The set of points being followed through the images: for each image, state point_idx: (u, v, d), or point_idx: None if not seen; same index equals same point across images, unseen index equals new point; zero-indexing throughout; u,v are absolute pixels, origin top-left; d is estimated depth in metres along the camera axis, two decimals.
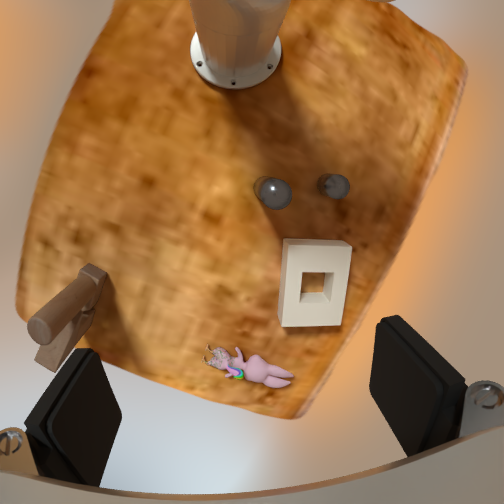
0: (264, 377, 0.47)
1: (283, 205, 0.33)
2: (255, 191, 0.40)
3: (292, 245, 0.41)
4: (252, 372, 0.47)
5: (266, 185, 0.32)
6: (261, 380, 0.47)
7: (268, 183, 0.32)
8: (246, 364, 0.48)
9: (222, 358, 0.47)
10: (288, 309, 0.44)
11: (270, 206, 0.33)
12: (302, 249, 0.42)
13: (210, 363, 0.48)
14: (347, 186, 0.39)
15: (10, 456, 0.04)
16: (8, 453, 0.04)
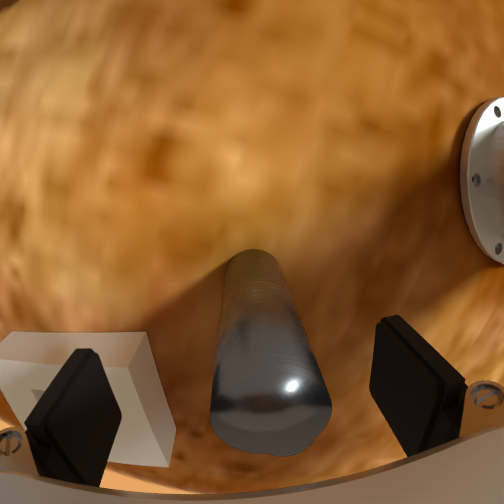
0: None
1: (232, 439, 0.08)
2: (245, 268, 0.15)
3: (129, 374, 0.15)
4: None
5: (305, 382, 0.07)
6: None
7: (314, 386, 0.07)
8: None
9: None
10: (13, 369, 0.15)
11: (218, 406, 0.07)
12: (128, 394, 0.15)
13: None
14: (290, 452, 0.16)
15: (10, 456, 0.04)
16: (8, 453, 0.04)
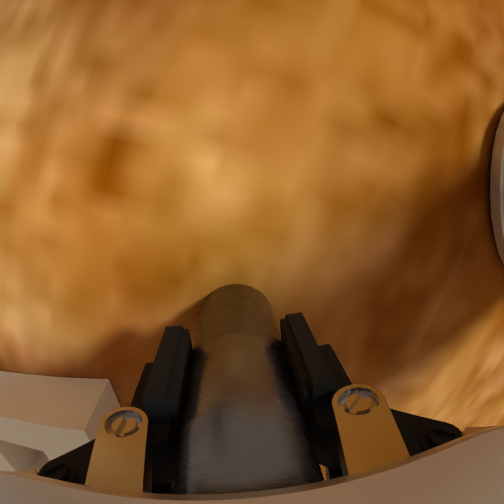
0: None
1: None
2: (223, 319, 0.10)
3: (88, 437, 0.11)
4: None
5: None
6: None
7: None
8: None
9: None
10: None
11: None
12: None
13: None
14: None
15: (119, 438, 0.05)
16: (119, 434, 0.06)
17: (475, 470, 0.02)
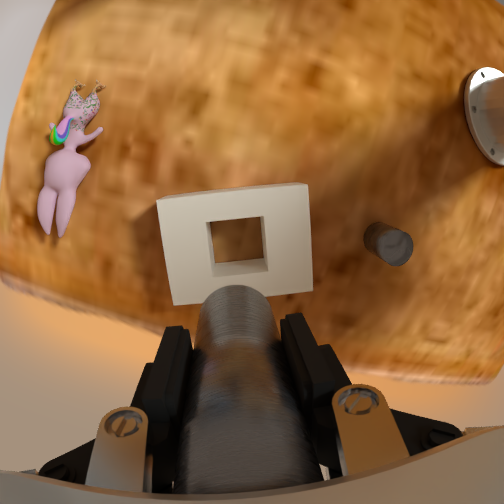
0: (54, 184, 0.23)
1: None
2: (223, 319, 0.10)
3: (306, 191, 0.25)
4: (61, 161, 0.23)
5: None
6: (48, 180, 0.23)
7: None
8: (73, 151, 0.24)
9: (84, 108, 0.23)
10: (191, 205, 0.24)
11: None
12: (302, 208, 0.25)
13: (73, 94, 0.23)
14: (399, 262, 0.26)
15: (119, 438, 0.05)
16: (119, 434, 0.06)
17: (475, 470, 0.02)
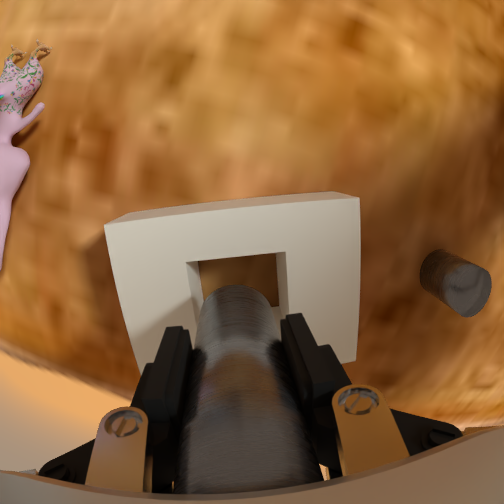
0: None
1: None
2: (223, 319, 0.10)
3: (357, 209, 0.14)
4: None
5: None
6: None
7: None
8: (5, 143, 0.14)
9: (17, 79, 0.12)
10: (161, 233, 0.14)
11: None
12: (350, 238, 0.15)
13: (7, 64, 0.13)
14: (473, 311, 0.16)
15: (119, 438, 0.05)
16: (119, 434, 0.06)
17: (475, 470, 0.02)
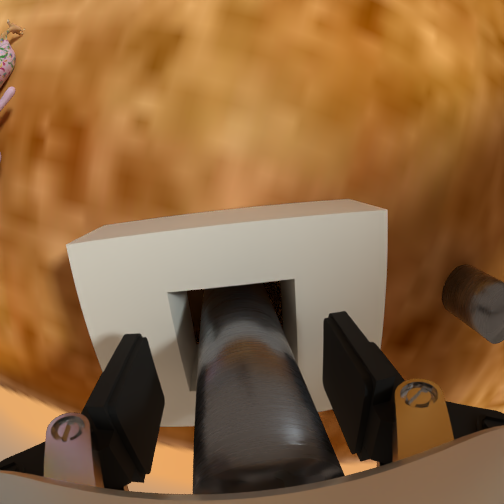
0: None
1: None
2: (227, 296, 0.12)
3: (384, 224, 0.11)
4: None
5: (315, 465, 0.05)
6: None
7: (325, 467, 0.05)
8: None
9: None
10: (135, 256, 0.11)
11: None
12: (374, 259, 0.11)
13: None
14: (502, 336, 0.13)
15: (67, 442, 0.05)
16: (65, 439, 0.05)
17: (475, 470, 0.02)
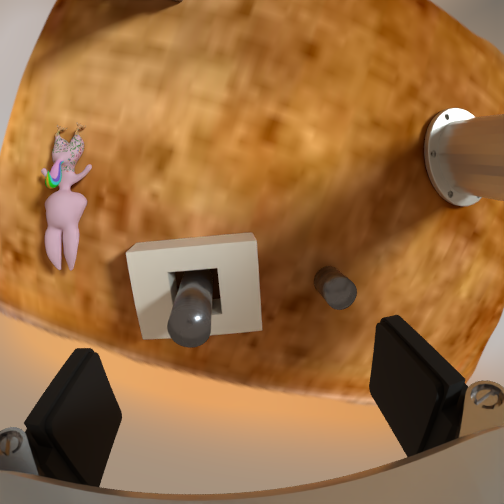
0: (57, 223, 0.26)
1: (175, 338, 0.22)
2: (190, 274, 0.29)
3: (256, 246, 0.29)
4: (59, 201, 0.26)
5: (198, 313, 0.22)
6: (51, 221, 0.26)
7: (202, 315, 0.22)
8: (68, 190, 0.27)
9: (70, 150, 0.26)
10: (155, 258, 0.28)
11: (170, 322, 0.22)
12: (252, 261, 0.29)
13: (57, 138, 0.26)
14: (343, 306, 0.30)
15: (10, 456, 0.04)
16: (8, 453, 0.04)
17: (475, 470, 0.02)
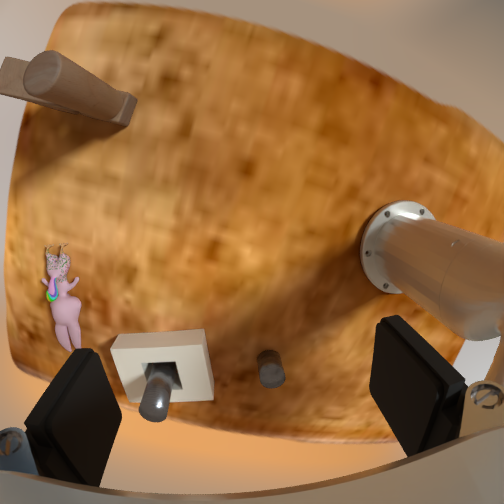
0: (62, 323, 0.35)
1: (145, 417, 0.30)
2: (158, 363, 0.37)
3: (202, 347, 0.36)
4: (60, 308, 0.34)
5: (157, 405, 0.30)
6: (57, 321, 0.35)
7: (159, 406, 0.30)
8: (65, 297, 0.35)
9: (60, 268, 0.34)
10: (131, 353, 0.36)
11: (140, 408, 0.30)
12: (200, 357, 0.37)
13: (48, 256, 0.34)
14: (274, 386, 0.38)
15: (10, 456, 0.04)
16: (8, 453, 0.04)
17: (475, 470, 0.02)
